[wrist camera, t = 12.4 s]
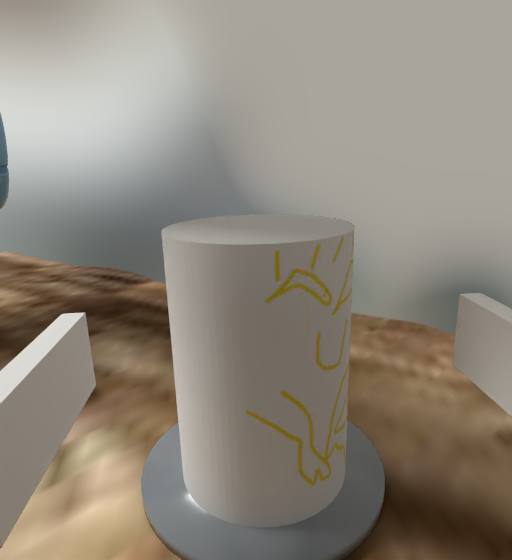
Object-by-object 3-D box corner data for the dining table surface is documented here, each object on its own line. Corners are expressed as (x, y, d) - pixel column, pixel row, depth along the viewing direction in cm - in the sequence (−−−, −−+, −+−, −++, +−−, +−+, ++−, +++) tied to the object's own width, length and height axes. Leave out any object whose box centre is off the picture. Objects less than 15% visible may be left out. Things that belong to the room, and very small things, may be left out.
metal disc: (112, 452, 23) (110, 442, 23) (284, 386, 30) (284, 378, 30) (215, 650, 14) (214, 637, 14) (438, 490, 20) (439, 480, 20)
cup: (298, 561, 16) (299, 253, 13) (147, 481, 20) (119, 234, 17) (368, 442, 23) (380, 218, 19) (242, 400, 27) (235, 211, 24)
